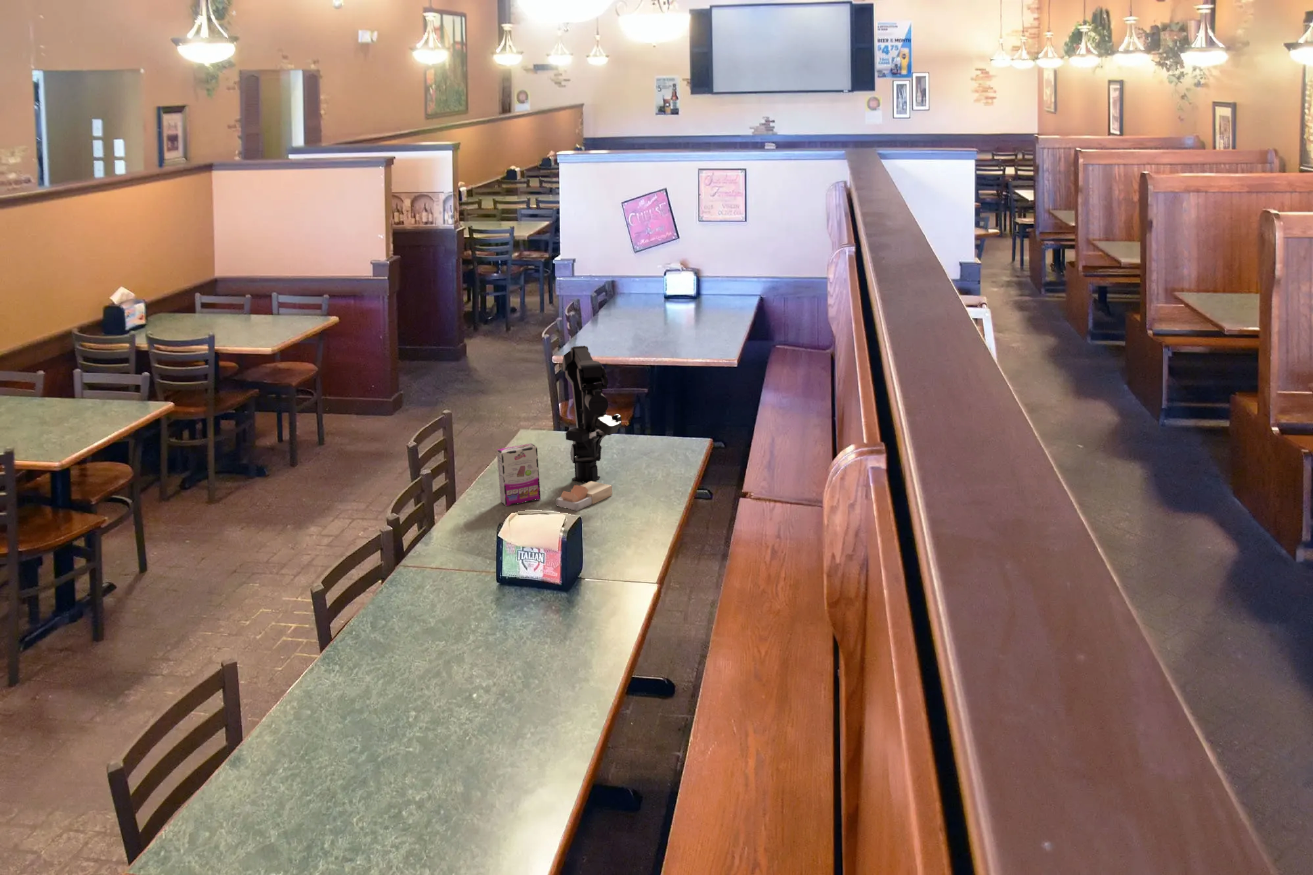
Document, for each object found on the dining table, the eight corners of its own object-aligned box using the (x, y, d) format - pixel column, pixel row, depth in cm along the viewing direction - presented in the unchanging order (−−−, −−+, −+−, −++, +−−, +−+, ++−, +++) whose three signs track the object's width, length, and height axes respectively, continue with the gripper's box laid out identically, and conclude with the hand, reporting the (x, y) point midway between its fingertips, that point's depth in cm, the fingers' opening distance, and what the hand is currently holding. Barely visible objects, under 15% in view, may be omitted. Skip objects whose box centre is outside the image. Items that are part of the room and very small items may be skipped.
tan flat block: (571, 499, 337) (570, 489, 336) (591, 490, 344) (590, 481, 343) (592, 504, 332) (592, 494, 332) (612, 495, 340) (611, 485, 339)
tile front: (569, 497, 333) (566, 503, 332) (563, 490, 330) (560, 496, 329) (580, 500, 331) (577, 506, 330) (574, 493, 328) (571, 499, 327)
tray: (555, 506, 331) (555, 498, 331) (571, 499, 337) (570, 492, 336) (576, 510, 327) (576, 503, 326) (591, 504, 333) (591, 496, 332)
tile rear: (572, 499, 334) (568, 496, 332) (577, 487, 335) (574, 484, 334) (583, 502, 332) (579, 498, 330) (588, 490, 333) (585, 486, 331)
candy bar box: (534, 495, 341) (531, 442, 337) (541, 500, 337) (538, 446, 332) (499, 501, 336) (495, 448, 332) (505, 506, 332) (502, 452, 327)
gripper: (593, 417, 320) (595, 470, 325) (633, 402, 335) (635, 453, 339) (563, 411, 327) (565, 463, 331) (603, 397, 341) (605, 447, 345)
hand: (594, 457), depth 336 cm, fingers closed
